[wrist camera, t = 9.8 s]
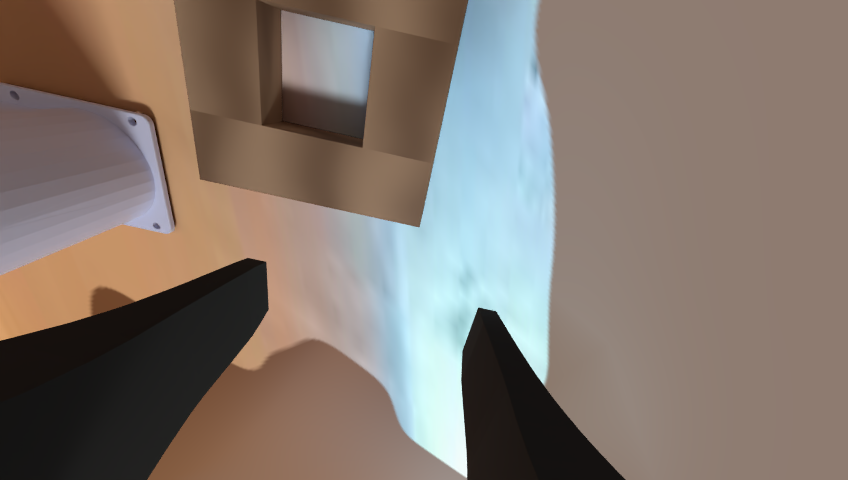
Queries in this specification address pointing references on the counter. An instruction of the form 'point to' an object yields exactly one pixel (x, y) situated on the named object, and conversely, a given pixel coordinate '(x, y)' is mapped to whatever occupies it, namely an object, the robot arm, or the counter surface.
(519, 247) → the counter surface
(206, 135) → the tan flat piece
